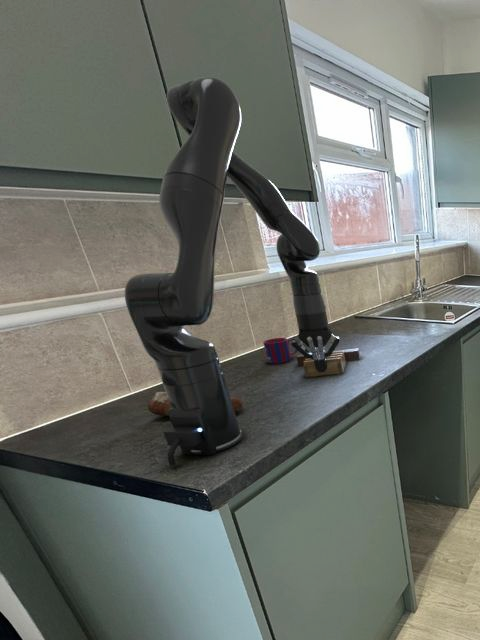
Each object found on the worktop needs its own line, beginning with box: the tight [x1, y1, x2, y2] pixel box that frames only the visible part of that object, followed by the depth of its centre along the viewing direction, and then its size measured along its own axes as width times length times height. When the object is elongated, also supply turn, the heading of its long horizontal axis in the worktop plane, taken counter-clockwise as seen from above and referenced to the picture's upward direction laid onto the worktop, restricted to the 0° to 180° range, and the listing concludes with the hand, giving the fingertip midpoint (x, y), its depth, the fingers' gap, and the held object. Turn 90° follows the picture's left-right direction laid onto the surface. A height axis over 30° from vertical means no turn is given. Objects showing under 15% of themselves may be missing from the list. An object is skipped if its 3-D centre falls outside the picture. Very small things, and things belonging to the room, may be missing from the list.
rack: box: [303, 350, 347, 378], centre depth 123 cm, size 10×10×4 cm
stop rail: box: [296, 347, 361, 367], centre depth 131 cm, size 3×18×3 cm, turn 106°
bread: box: [147, 391, 244, 417], centre depth 96 cm, size 6×19×6 cm, turn 90°
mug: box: [263, 337, 299, 365], centre depth 134 cm, size 7×10×7 cm
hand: (322, 371), depth 118 cm, fingers closed
